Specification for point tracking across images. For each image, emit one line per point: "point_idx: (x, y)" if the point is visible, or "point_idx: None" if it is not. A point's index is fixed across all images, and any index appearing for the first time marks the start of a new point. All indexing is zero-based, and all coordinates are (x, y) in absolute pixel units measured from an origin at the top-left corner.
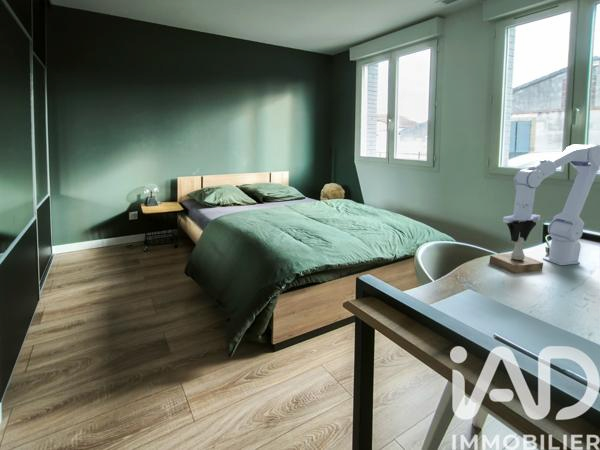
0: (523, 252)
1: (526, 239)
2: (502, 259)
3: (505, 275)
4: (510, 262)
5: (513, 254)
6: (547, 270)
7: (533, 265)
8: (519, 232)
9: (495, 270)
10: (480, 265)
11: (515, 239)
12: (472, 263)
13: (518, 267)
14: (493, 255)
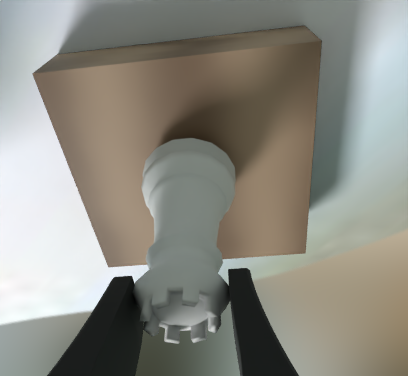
0: (153, 188)
1: (108, 288)
2: (294, 184)
3: (395, 11)
4: (292, 122)
5: (233, 190)
6: (13, 53)
7: (133, 58)
8: (249, 371)
9: (370, 113)
10: (378, 197)
11: (255, 293)
12: (391, 227)
13: (287, 40)
14: (286, 250)
